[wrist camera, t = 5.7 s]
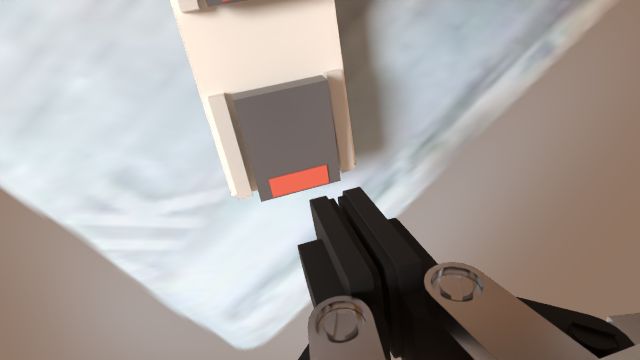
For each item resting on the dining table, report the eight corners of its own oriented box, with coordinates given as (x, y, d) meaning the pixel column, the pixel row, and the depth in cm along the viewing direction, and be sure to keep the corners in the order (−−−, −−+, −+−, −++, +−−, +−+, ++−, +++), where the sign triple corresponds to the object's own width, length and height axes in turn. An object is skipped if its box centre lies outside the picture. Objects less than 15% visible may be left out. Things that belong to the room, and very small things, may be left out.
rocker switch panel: (143, -112, 14) (116, -161, 11) (297, -129, 15) (316, -178, 12) (231, 175, 20) (232, 203, 16) (339, 148, 21) (361, 169, 18)
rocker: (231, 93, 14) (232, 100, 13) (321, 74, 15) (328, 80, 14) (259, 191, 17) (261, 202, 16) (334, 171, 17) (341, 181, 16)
